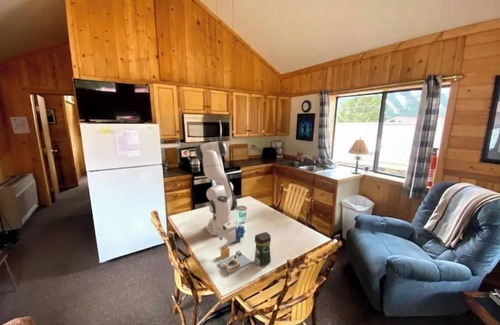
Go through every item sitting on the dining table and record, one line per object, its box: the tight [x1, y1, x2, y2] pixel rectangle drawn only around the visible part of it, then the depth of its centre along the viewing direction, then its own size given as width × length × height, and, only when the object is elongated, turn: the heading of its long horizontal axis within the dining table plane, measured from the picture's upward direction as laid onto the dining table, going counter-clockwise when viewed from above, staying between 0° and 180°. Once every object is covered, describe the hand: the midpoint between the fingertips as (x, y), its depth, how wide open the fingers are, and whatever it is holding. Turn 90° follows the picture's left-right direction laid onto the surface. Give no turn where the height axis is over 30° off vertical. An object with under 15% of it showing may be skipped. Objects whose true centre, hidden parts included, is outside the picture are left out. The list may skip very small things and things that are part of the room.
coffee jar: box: [254, 231, 272, 267], centre depth 129 cm, size 10×8×19 cm
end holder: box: [223, 258, 240, 273], centre depth 124 cm, size 7×8×2 cm
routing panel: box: [217, 252, 253, 276], centre depth 129 cm, size 12×17×1 cm
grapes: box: [233, 225, 246, 243], centre depth 153 cm, size 12×7×12 cm, turn 122°
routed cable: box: [229, 250, 242, 265], centre depth 131 cm, size 6×11×2 cm, turn 129°
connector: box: [220, 244, 230, 260], centre depth 136 cm, size 4×4×7 cm
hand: (224, 242), depth 134 cm, fingers open, 8 cm apart
